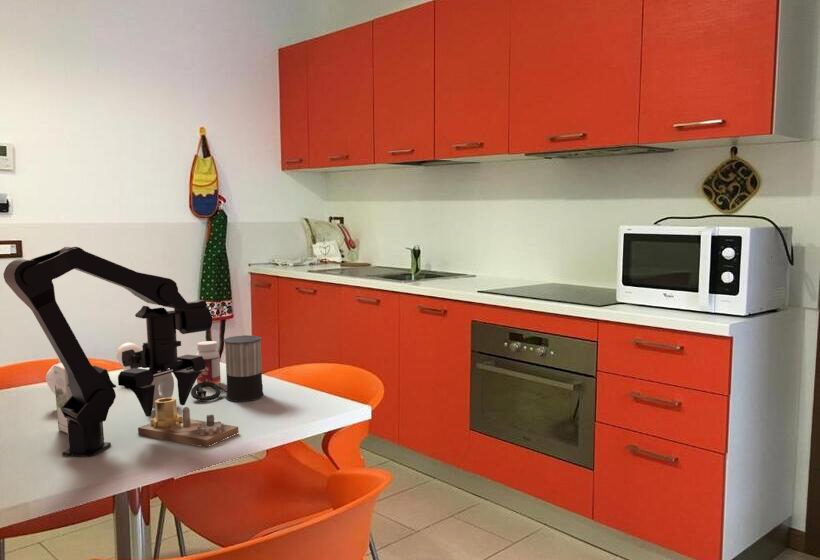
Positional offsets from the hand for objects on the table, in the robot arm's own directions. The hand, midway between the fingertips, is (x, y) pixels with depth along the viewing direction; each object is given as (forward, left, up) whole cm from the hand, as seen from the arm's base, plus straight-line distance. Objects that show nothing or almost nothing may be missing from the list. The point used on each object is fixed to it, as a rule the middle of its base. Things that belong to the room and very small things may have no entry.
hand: (165, 410), depth 144 cm
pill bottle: (+39, +8, -5) cm, 40 cm away
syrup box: (-1, +20, -4) cm, 20 cm away
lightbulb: (+40, +31, -4) cm, 51 cm away
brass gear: (0, 0, -3) cm, 3 cm away
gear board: (-2, -6, -4) cm, 7 cm away
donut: (+16, +10, -5) cm, 19 cm away
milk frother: (+26, -3, -5) cm, 26 cm away
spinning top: (+16, +34, -4) cm, 38 cm away
